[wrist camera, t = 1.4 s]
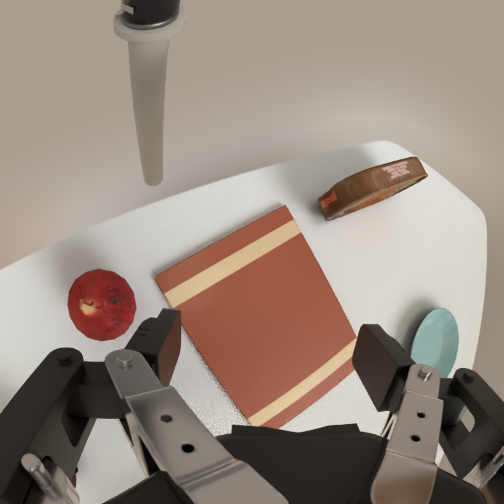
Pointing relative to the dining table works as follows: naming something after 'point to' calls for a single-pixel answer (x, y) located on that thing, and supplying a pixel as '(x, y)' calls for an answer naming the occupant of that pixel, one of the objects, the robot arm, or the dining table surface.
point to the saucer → (436, 341)
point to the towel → (264, 319)
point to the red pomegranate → (101, 305)
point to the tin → (370, 187)
